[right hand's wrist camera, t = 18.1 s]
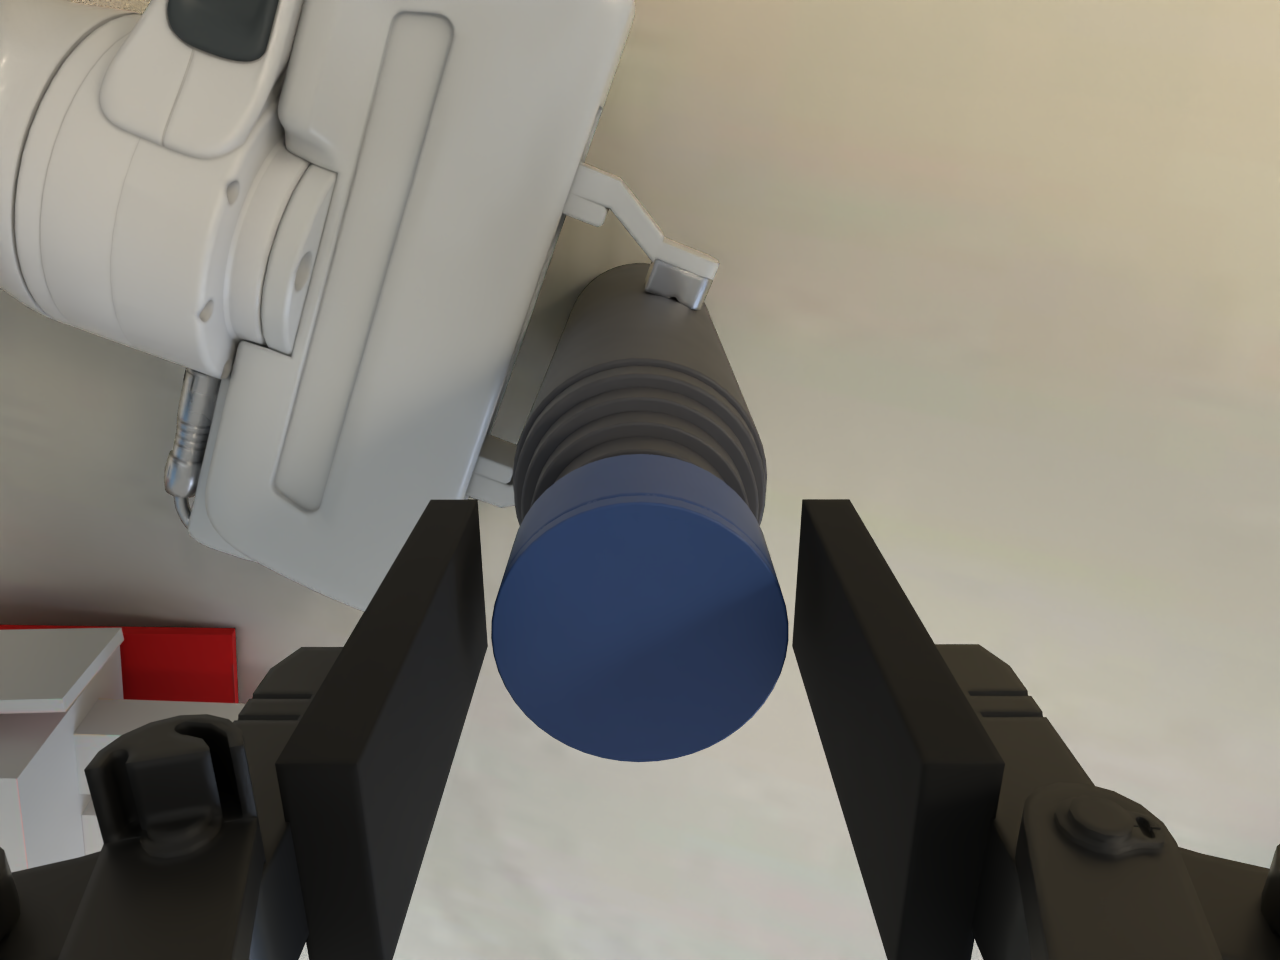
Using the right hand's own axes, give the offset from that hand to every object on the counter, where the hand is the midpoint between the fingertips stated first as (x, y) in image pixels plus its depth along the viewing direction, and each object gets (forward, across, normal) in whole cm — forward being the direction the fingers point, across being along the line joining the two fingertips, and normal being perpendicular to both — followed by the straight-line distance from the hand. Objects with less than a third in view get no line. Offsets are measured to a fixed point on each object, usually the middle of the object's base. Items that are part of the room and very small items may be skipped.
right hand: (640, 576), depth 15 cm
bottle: (+20, 0, 0) cm, 20 cm away
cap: (-2, 0, 0) cm, 2 cm away
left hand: (+13, -1, 0) cm, 13 cm away
